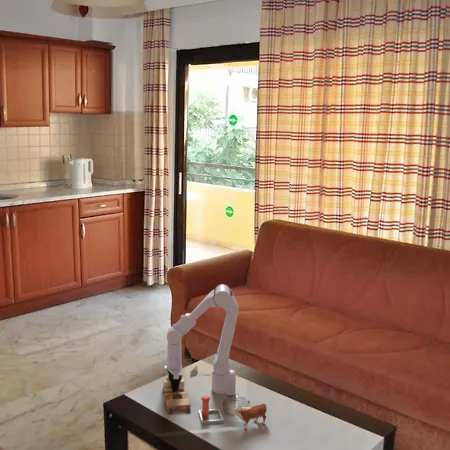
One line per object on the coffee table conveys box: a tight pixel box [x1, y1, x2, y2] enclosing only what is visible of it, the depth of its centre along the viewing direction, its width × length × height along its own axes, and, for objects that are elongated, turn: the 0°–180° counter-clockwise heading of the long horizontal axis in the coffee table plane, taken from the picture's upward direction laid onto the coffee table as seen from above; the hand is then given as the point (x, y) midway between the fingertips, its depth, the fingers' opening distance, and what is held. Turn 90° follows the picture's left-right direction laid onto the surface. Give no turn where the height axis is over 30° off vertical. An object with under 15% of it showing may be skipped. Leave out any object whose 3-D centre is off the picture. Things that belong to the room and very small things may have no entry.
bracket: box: [189, 365, 212, 378], centre depth 237 cm, size 7×10×4 cm, turn 67°
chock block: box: [162, 376, 185, 393], centre depth 225 cm, size 8×4×5 cm, turn 101°
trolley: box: [164, 391, 192, 415], centre depth 213 cm, size 9×14×3 cm, turn 11°
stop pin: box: [200, 395, 211, 420], centre depth 204 cm, size 3×3×8 cm
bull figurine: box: [232, 403, 267, 431], centre depth 201 cm, size 4×13×8 cm, turn 113°
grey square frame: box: [198, 408, 225, 425], centre depth 204 cm, size 8×8×2 cm
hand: (174, 387), depth 225 cm, fingers open, 6 cm apart
